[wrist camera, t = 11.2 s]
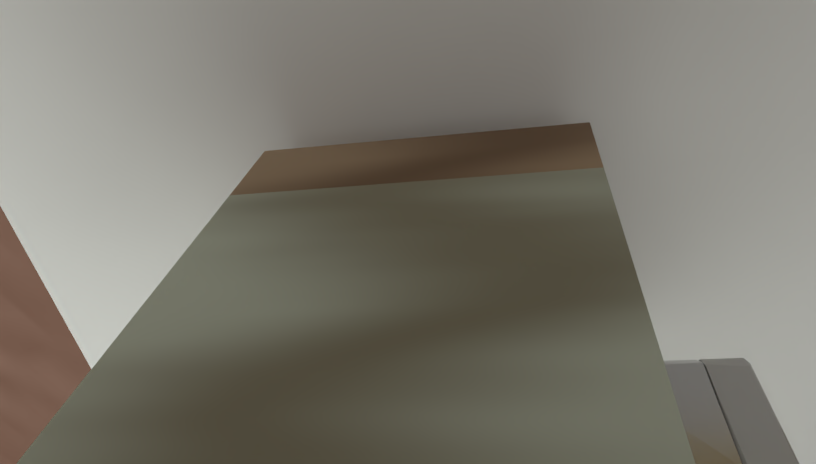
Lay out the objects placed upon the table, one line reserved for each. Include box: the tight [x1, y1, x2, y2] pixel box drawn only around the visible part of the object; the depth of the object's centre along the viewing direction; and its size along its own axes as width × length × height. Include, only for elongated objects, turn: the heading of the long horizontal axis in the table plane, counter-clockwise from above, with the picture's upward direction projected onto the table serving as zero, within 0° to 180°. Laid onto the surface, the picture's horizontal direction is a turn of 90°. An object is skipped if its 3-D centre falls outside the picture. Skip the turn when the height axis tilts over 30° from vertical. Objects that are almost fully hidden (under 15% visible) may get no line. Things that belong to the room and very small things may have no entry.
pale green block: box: [17, 122, 695, 464], centre depth 8 cm, size 5×5×7 cm
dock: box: [0, 0, 816, 464], centre depth 13 cm, size 17×17×3 cm
